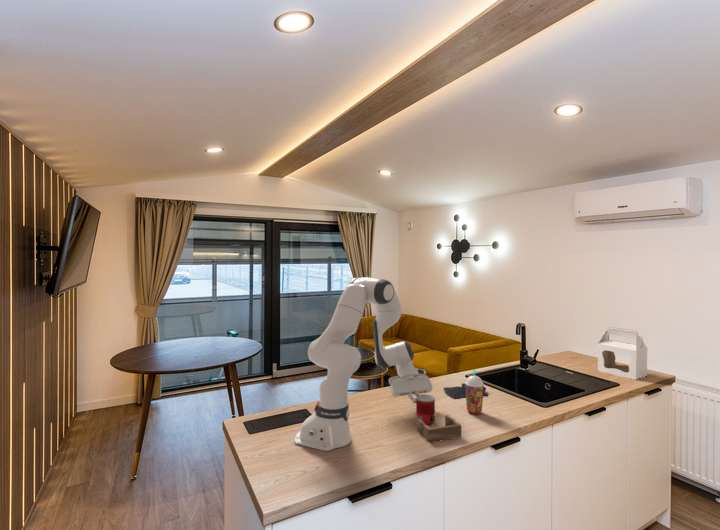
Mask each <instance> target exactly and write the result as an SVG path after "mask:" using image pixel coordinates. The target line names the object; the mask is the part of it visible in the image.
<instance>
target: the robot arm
mask: <svg viewBox="0 0 720 530" xmlns="http://www.w3.org/2000/svg"><path fill="white" fill-rule="evenodd" d="M344 288H345V289H344V290H343V291H342V293H341V296H340V297H339V299H338V301H337V305H336V307H335V310H334V312H333V315H332V318H331V319H330V322H329V324H328V326H327V327H326V328H325V330H324V331H323V332H322V334H321V335H320V336H319V337H318V338H316V339H314V340H313V341H311V343H309V346H308V349H307V357H308V359H309V361H311V362H312V363H313V364H315V366H318V367H320V368H323V369H327V375H326V379H324V380H323V381H322V382H321V383H320V384H319V400H318V401H317V402H316V404H315V406H314V407H313V412H314V413H312V414H310V416H308V417H307V418H305V420H304V421H303V423H302V424H301V427H300V430H299V431H298V432H297V433H296V434H295V437H294V439H293V440H294V444H295V445H300V446H304V447H308V448H312V449H315V450H321V451H324V452H329V451H332V450H334V449H337V448H342V447H345V446H347V445H349V444H350V443H351V442H352V439H353V437H352V434H351V431H350V426H349V425H350V424H349V416H350V408H349V402H348V400H349V399H348V396H349V394H348V391H349V390H348V389H349V382H350V379H351V377H352V375H353V374H354V373H356V371H358V369H359V368H360V366H361V362H362V356H361V352H360V351H359V349H357V348H355V347H354V346H352V345H350V344H347V343H345V342H346V340H348V338H349V337H350V336H352V335H354V334H355V333H356V332H357V330H358V328H359V325H360V322H361V319H362V316H363V314H364V311H365V307H366V303H367V304H373V305H374V304H375V309H376V316H375V318H374V319H373V321H372V329H373V331H372V332H373V333H372V334H373V344H374V360H375V363H376V365H377V367H379V368H380V369H383V370H385V369H388V368H391V367H393V366H395V367H396V373H397V376H396V375H395V376H391V377H389V378H388V383H389V386H390V392H391V395H392V396H393V397H395V398H396V397H402V396H403V397H404V396H407V397H408V399H410V401H411V402H412V404H416V398H417V396H418V395H422V394H427V393H431V392H432V390H433V384H432V382H431V379H430V377H429V376H428V375H426V374H427V371H426V370H425V369H420V368H417V367H415V366H414V364H413V360H414V357H415V353H414V352H413V350H412V345H411V344H410V343H409V342H407V341H400V342H396V343H393V344H389V345H385V346H384V341H383V335H384V333H385V332H386V331H387V330H388V329H389V328H391V327H392V326H394V325H395V324H396V323H398V321H399V320H400V318H401V316H402V307H401V303H400V299H399V296H398V294H397V292H396V291H397V290H396V288H395V287H394V285H393V284H392V282H391V281H390V280H387V279H384V278H382V279H381V278H374V277H361V276H356V277H353V278H352V279H351V280H350V281H349V283H348V285H346V287H344ZM413 395H414V396H415V397H414V396H413Z"/></svg>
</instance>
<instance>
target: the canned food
mask: <svg viewBox="0 0 720 530" xmlns="http://www.w3.org/2000/svg"><path fill="white" fill-rule="evenodd" d="M416 397H417V398H416ZM416 397H415V398H416V403H415V406H416V408H415V409H416V414H415V415H416V417H415V418H416V419H415V420H416V421H417V419H419V418H420V419H421V420H422V421H423V422H424V423H425V424H426V425H427V426H428V427H429V425H430V426H433V425H434V424H435V421H436V420H435V418H436V415H435V413H436V409H435V408H436V407H435V405H436V404H435V403H436V402H435V401H436V398H435V396H433V395H431V394H427V393H421V394H419V395H418V396H416Z"/></svg>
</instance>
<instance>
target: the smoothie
mask: <svg viewBox="0 0 720 530" xmlns="http://www.w3.org/2000/svg"><path fill="white" fill-rule="evenodd" d="M464 383H465V387H466V399H465V401H466V410H467V412H468V414H470V415H473V416H478V415H481V413H482V411H483V398H484V397H483V387H485V386H484V385H485V384H484V382H483V380H482V379H481V377H479V376H478V375H476V369H473V375H470V376H468V377H467V378H466V381H465V382H464Z"/></svg>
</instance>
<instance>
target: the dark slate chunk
mask: <svg viewBox="0 0 720 530" xmlns="http://www.w3.org/2000/svg"><path fill="white" fill-rule="evenodd" d="M486 390H487V388H486V386H484V387H483V396H487V397H489V394H488V393H486ZM443 391H444V392H445V393H446V394H447V395H448V396H449V397H450V398H452V399H453V400H464V399H463V398H466V387H465V382H463V383H461V386H448V387H447V386H445V387H443ZM461 398H462V399H461Z"/></svg>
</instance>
